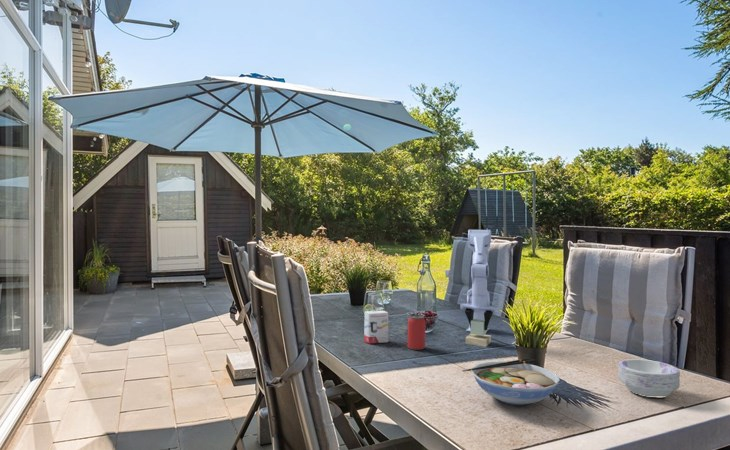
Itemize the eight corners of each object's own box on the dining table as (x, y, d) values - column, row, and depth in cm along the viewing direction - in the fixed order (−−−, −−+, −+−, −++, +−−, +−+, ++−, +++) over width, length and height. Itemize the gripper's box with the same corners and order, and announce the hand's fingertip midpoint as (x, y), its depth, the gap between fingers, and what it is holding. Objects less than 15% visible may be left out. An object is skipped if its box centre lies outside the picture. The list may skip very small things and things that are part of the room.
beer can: (424, 346, 185) (425, 314, 185) (425, 350, 179) (425, 318, 178) (407, 345, 186) (408, 314, 186) (407, 350, 179) (407, 317, 179)
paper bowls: (608, 383, 147) (608, 357, 147) (659, 384, 147) (660, 358, 146) (634, 402, 132) (635, 373, 132) (691, 404, 131) (692, 374, 131)
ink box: (368, 344, 186) (368, 313, 186) (363, 341, 191) (363, 311, 191) (388, 342, 190) (389, 312, 190) (383, 339, 195) (383, 310, 194)
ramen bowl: (505, 424, 116) (505, 390, 116) (451, 392, 137) (452, 363, 137) (582, 409, 126) (582, 378, 126) (521, 381, 147) (521, 354, 147)
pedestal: (471, 340, 197) (471, 333, 197) (491, 343, 193) (491, 335, 193) (465, 344, 190) (465, 337, 189) (485, 347, 186) (486, 340, 186)
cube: (473, 331, 194) (474, 318, 194) (486, 332, 192) (486, 320, 192) (470, 333, 190) (470, 321, 190) (483, 335, 188) (483, 322, 187)
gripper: (458, 294, 191) (457, 328, 191) (495, 297, 184) (494, 333, 184) (463, 291, 197) (463, 325, 197) (499, 295, 190) (499, 329, 190)
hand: (478, 328), depth 191 cm, fingers closed on cube, 5 cm apart
